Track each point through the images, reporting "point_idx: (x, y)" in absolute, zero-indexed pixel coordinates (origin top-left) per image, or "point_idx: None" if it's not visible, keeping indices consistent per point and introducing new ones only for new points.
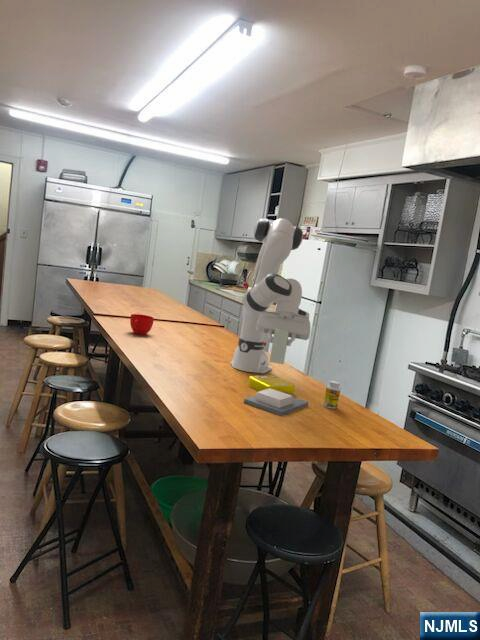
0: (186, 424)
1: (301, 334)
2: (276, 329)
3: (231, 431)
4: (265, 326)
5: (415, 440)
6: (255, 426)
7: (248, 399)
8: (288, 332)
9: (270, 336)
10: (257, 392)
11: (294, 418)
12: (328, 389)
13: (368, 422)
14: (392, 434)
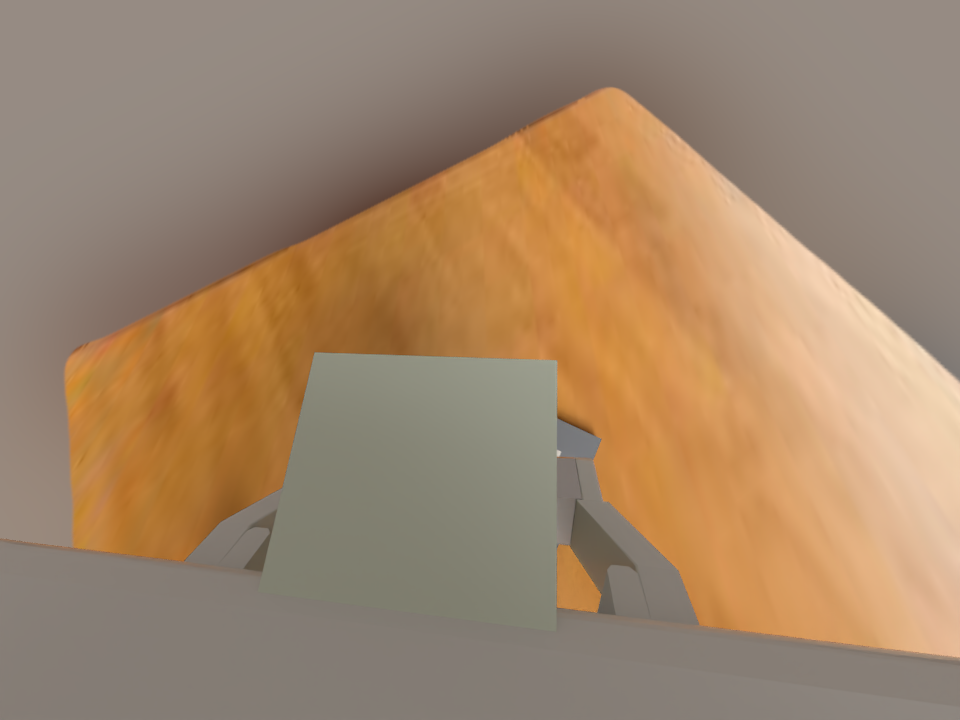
0: (691, 161)
1: (76, 549)
2: (530, 415)
3: (578, 181)
4: (846, 665)
5: (79, 397)
6: (527, 243)
7: (584, 440)
8: (319, 353)
9: (599, 495)
10: (557, 450)
11: None
12: None
13: (155, 494)
14: (127, 411)
